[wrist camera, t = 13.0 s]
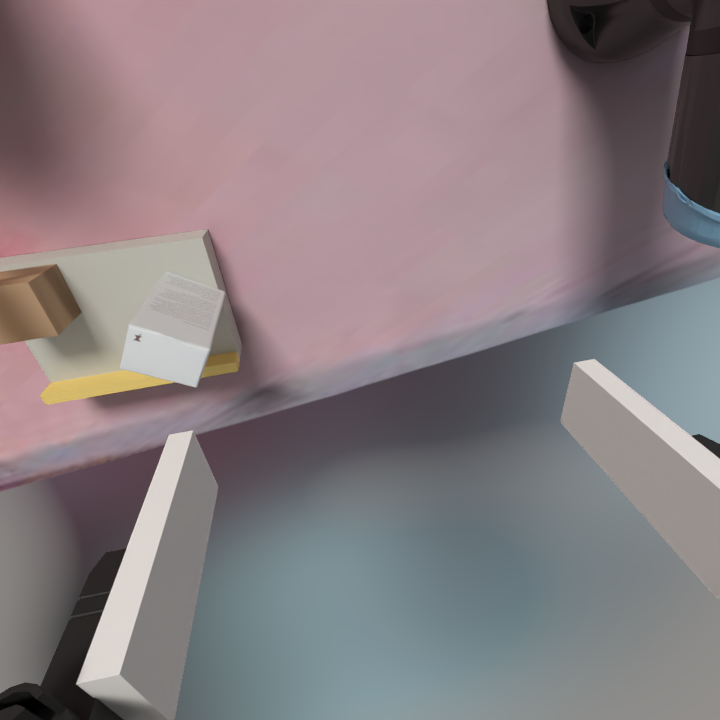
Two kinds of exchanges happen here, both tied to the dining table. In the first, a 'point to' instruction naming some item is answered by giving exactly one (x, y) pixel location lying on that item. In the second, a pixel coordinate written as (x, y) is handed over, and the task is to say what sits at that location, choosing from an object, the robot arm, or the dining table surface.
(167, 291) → the skincare box
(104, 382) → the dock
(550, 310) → the dining table surface
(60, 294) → the tan wooden cube
